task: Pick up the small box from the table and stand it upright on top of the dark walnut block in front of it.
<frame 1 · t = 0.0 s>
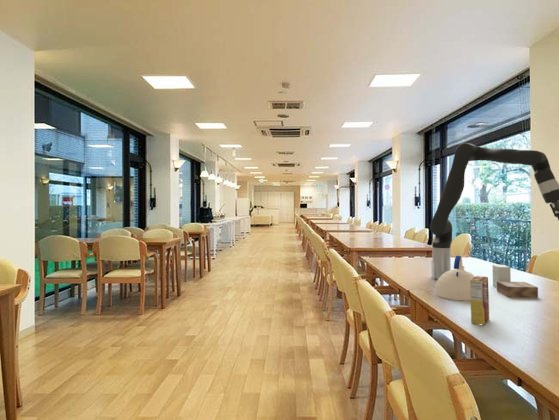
kettle: (458, 296, 173), on the table
small box: (501, 287, 189), on the table
candy box: (480, 322, 134), on the table
walnut block: (516, 295, 173), on the table
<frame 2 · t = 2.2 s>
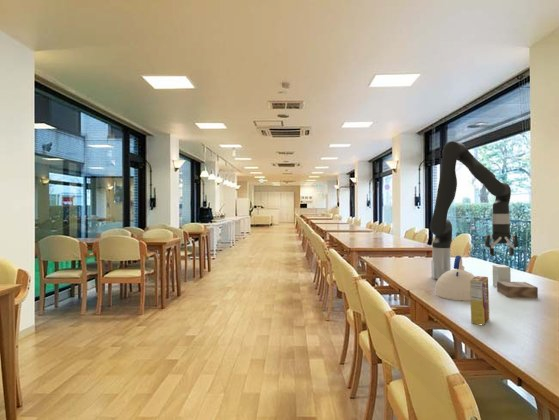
hand: (501, 255, 189), 15 cm above the table, tool pointing down, fingers open, 8 cm apart
nothing on the table moved.
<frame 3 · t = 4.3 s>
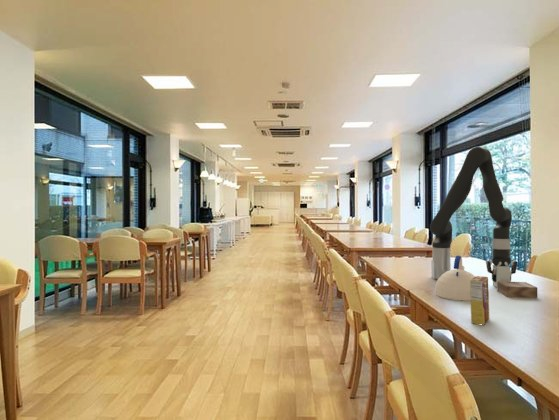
hand: (501, 281, 189), 3 cm above the table, tool pointing down, fingers closed on small box, 5 cm apart
small box: (501, 287, 189), on the table, touching gripper
everything else where it was.
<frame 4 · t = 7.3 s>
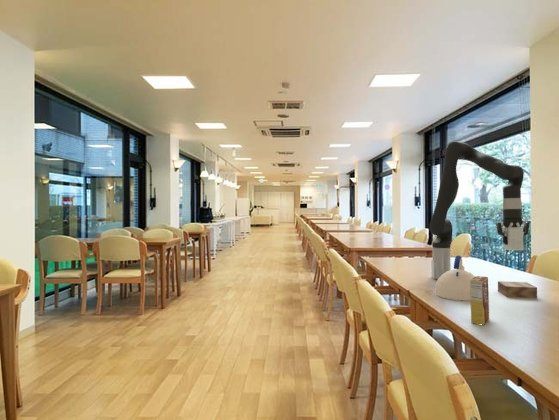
hand: (513, 244, 177), 22 cm above the table, tool pointing down, fingers closed on small box, 5 cm apart
small box: (513, 250, 177), point 19 cm above the table, touching gripper
everything else where it was.
when the fingers open (9 cm above the table, at t = 10.6 s): small box drops 2 cm, resting on walnut block.
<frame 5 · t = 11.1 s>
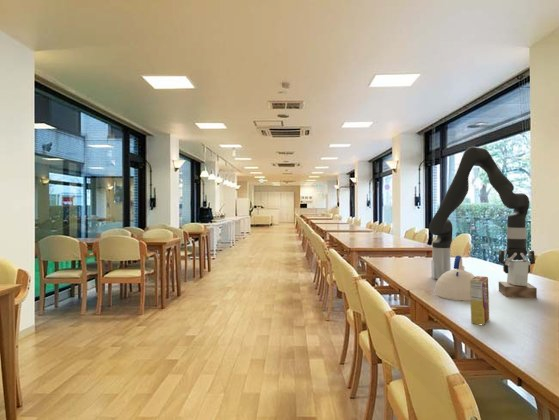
hand: (516, 273, 173), 10 cm above the table, tool pointing down, fingers open, 8 cm apart
small box: (516, 284, 173), point 4 cm above the table, touching walnut block
walnut block: (516, 295, 173), on the table, touching small box
everything else where it was.
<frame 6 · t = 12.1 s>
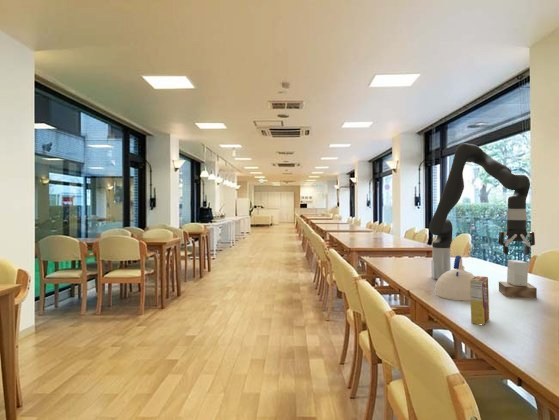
hand: (516, 254, 173), 18 cm above the table, tool pointing down, fingers open, 8 cm apart
nothing on the table moved.
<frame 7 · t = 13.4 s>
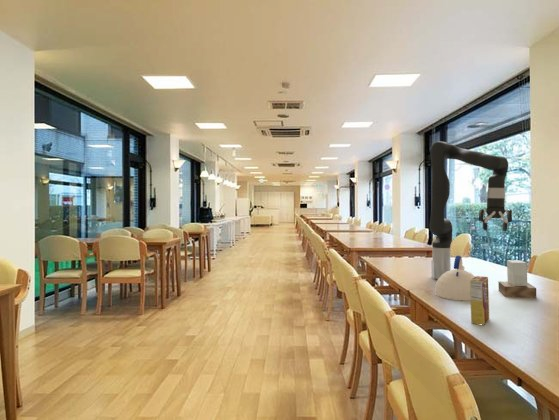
hand: (494, 230, 186), 28 cm above the table, tool pointing down, fingers open, 8 cm apart
nothing on the table moved.
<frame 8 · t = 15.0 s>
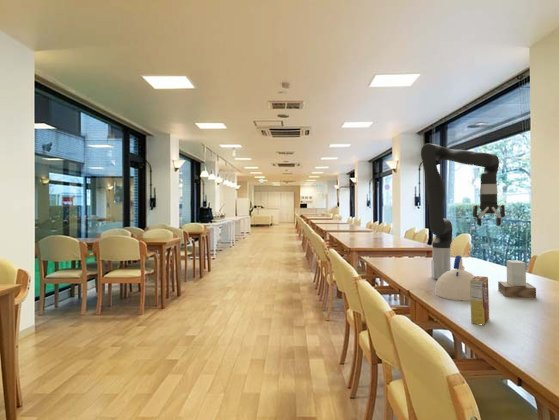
hand: (488, 225, 191), 30 cm above the table, tool pointing down, fingers open, 8 cm apart
nothing on the table moved.
at the end: small box inside the target area on the walnut block (0.2 cm from its centre), point 4.8 cm above the walnut block's base; small box tilted 0°; the gripper is holding nothing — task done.
